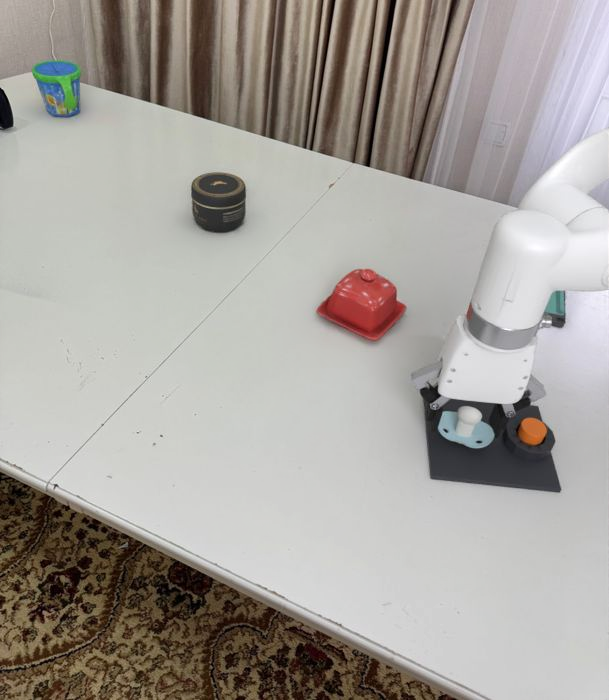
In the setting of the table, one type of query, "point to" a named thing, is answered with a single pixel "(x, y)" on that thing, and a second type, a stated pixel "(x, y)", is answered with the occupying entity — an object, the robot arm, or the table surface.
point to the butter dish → (363, 304)
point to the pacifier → (466, 427)
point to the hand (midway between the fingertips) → (462, 425)
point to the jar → (218, 201)
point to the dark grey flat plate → (494, 454)
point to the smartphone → (556, 308)
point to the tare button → (532, 431)
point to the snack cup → (59, 86)
